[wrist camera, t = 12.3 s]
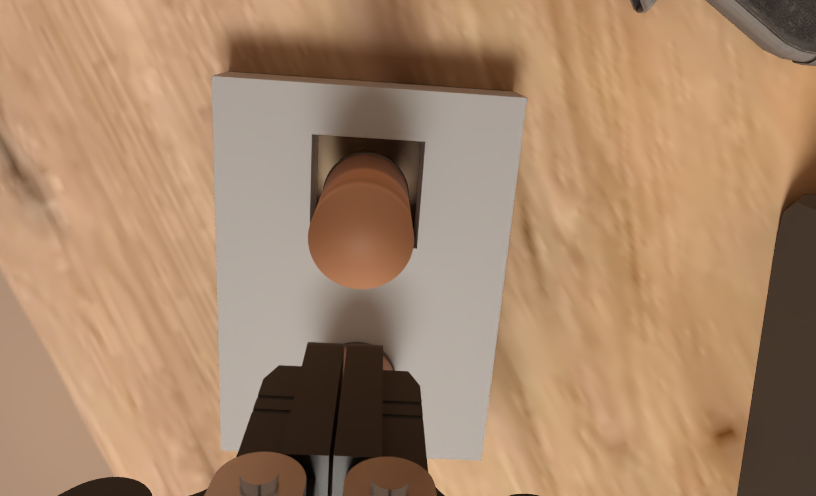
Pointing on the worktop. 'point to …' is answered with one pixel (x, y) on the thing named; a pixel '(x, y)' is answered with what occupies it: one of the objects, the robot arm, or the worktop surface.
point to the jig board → (387, 304)
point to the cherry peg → (362, 222)
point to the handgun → (769, 24)
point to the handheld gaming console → (786, 368)
